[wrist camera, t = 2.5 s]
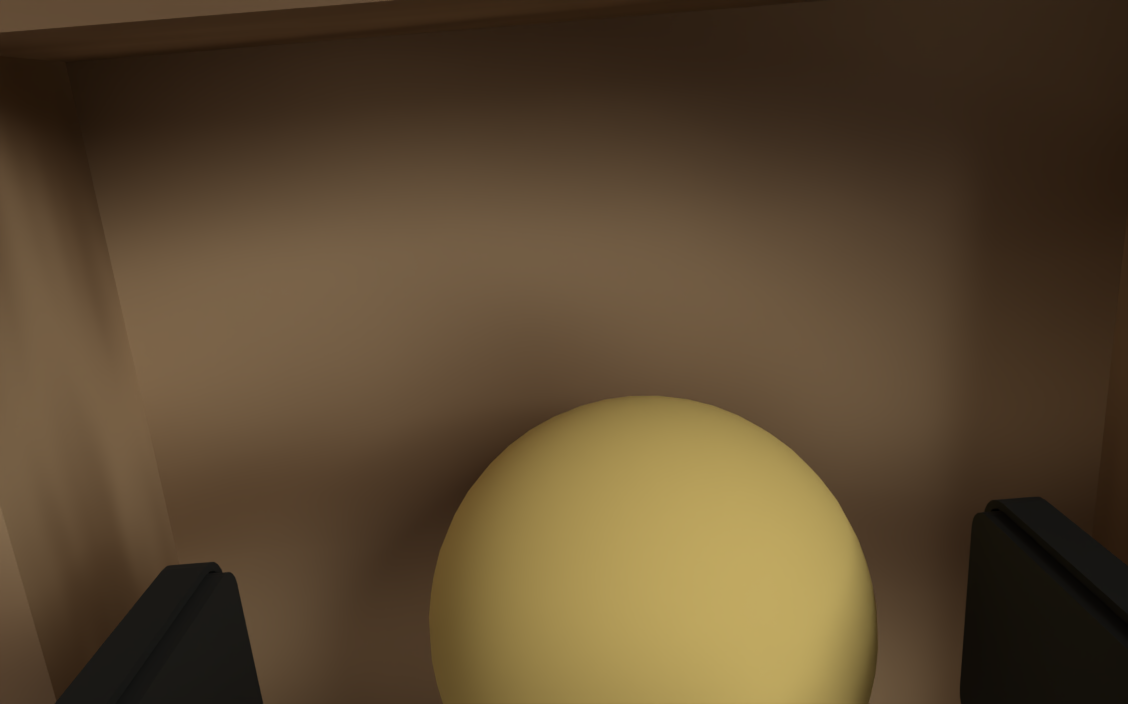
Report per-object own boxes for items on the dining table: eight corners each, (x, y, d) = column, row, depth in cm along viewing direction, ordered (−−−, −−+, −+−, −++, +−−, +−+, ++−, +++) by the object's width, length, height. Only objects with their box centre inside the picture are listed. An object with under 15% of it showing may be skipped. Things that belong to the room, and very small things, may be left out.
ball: (804, 649, 15) (949, 975, 10) (476, 671, 15) (424, 1006, 10) (805, 332, 14) (982, 494, 8) (438, 359, 14) (349, 538, 8)
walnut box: (1079, 854, 18) (1248, 1095, 13) (230, 904, 18) (125, 1156, 14) (1191, -95, 13) (1519, -202, 8) (15, 2, 13) (-258, -52, 9)
